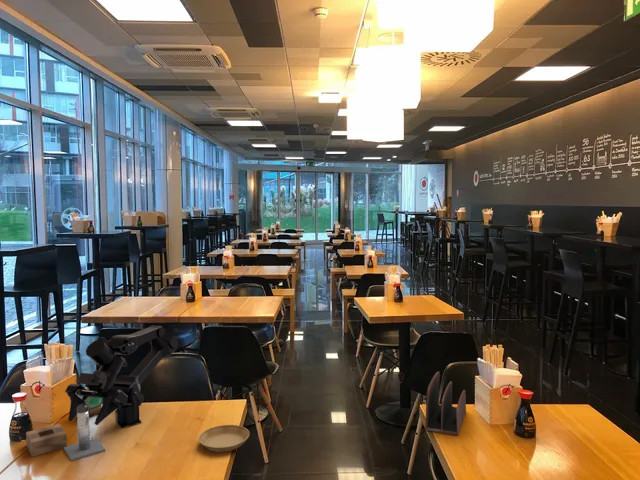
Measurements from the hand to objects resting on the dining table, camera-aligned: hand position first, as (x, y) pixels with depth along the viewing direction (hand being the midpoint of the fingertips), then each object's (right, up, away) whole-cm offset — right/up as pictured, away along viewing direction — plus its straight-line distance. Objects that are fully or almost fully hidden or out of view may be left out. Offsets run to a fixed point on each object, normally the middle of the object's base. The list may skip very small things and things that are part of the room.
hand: (82, 422), depth 142 cm
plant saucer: (+40, -8, +4) cm, 41 cm away
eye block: (-12, -8, +4) cm, 15 cm away
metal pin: (0, -8, +1) cm, 8 cm away
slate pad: (0, -8, +1) cm, 8 cm away
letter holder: (+110, -6, +18) cm, 111 cm away
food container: (-9, -7, +27) cm, 29 cm away
